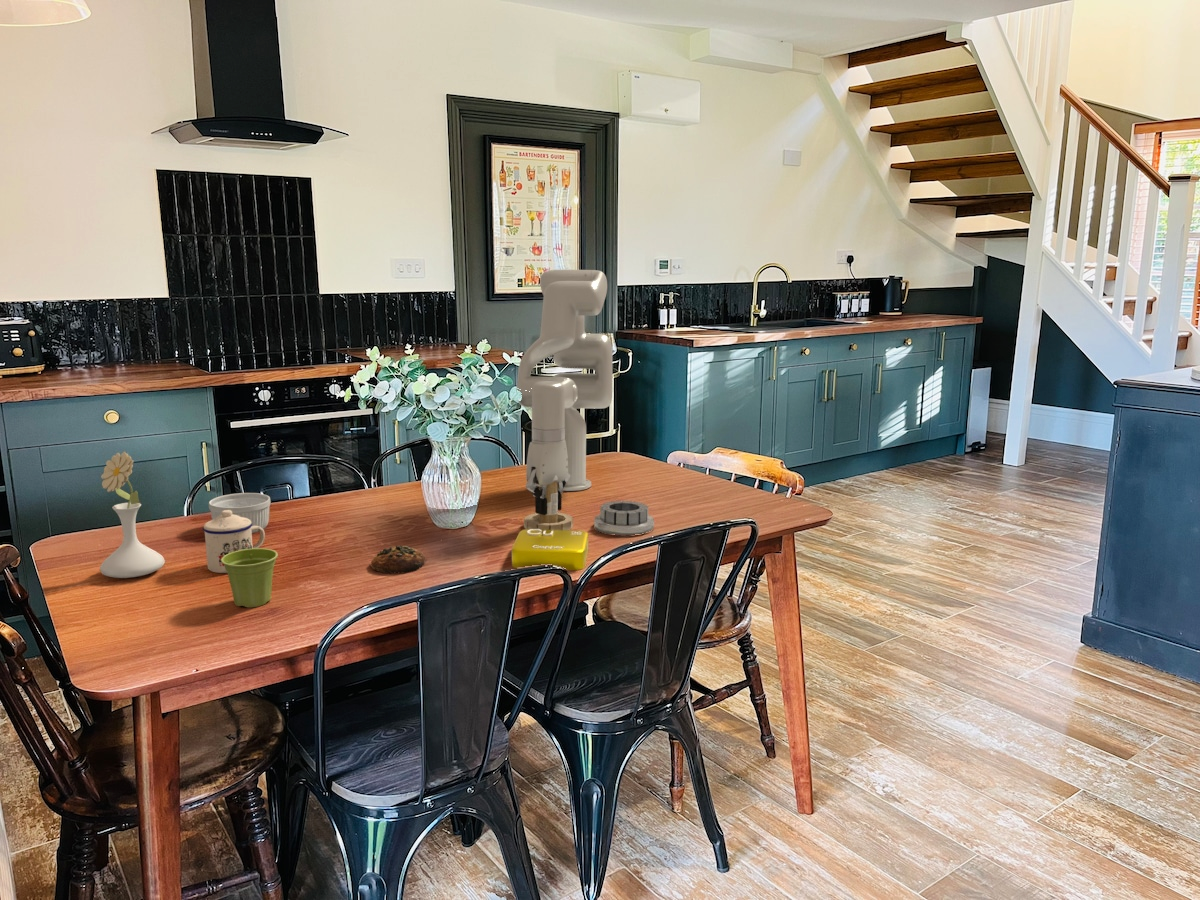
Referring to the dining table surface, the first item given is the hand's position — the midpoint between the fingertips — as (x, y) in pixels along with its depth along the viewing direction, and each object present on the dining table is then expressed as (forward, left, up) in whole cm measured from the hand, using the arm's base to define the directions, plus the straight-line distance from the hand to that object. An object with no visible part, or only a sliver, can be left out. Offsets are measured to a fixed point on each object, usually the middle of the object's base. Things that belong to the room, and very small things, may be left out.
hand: (548, 510), depth 207 cm
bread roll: (-5, -40, -4) cm, 41 cm away
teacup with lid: (-30, -61, -4) cm, 68 cm away
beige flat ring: (0, 0, -4) cm, 4 cm away
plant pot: (-9, -70, -4) cm, 71 cm away
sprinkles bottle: (0, 0, -4) cm, 4 cm away
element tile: (+15, -16, -5) cm, 23 cm away
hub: (+14, +11, -4) cm, 18 cm away
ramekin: (-53, -47, -4) cm, 71 cm away
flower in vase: (-40, -77, -4) cm, 87 cm away
